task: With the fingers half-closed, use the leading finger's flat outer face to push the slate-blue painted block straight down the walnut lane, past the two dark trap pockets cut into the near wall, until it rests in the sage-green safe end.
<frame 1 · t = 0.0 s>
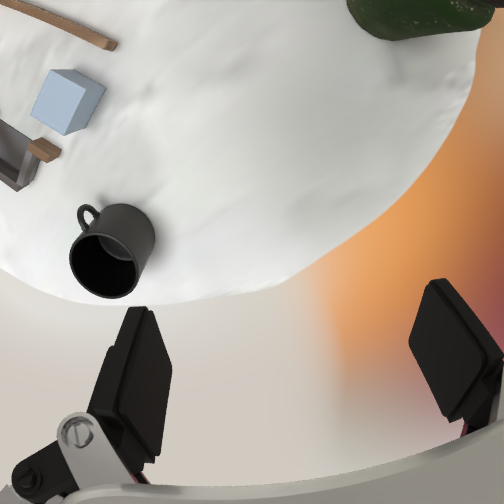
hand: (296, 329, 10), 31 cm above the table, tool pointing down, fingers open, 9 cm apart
green bottle: (381, 6, 28), on the table
block: (78, 98, 32), on the table
mug: (119, 226, 42), on the table
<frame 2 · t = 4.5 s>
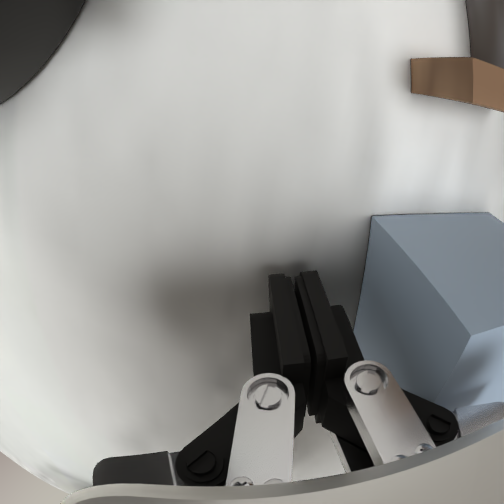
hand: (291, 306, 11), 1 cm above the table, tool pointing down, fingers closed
block: (424, 278, 12), on the table, touching gripper
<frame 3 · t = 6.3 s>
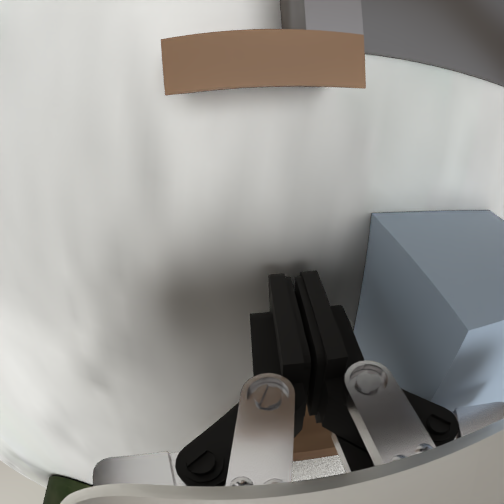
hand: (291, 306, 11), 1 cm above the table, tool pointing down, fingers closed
green bottle: (85, 488, 28), on the table
block: (424, 276, 12), on the table, touching gripper
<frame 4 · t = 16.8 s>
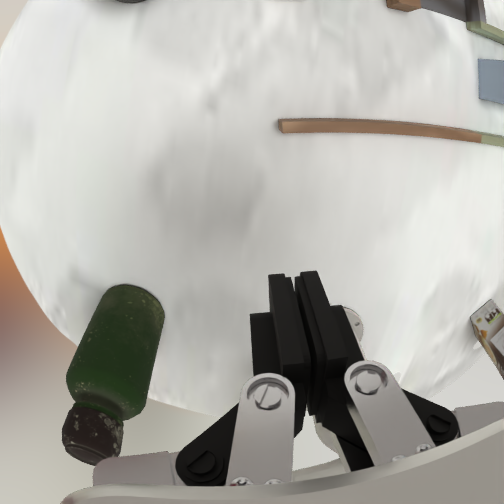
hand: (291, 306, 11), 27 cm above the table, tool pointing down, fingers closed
green bottle: (133, 309, 46), on the table
trap box: (424, 68, 29), on the table
block: (491, 82, 29), on the table
coffee box: (482, 317, 52), on the table
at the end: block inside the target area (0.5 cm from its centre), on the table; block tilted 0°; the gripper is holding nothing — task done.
